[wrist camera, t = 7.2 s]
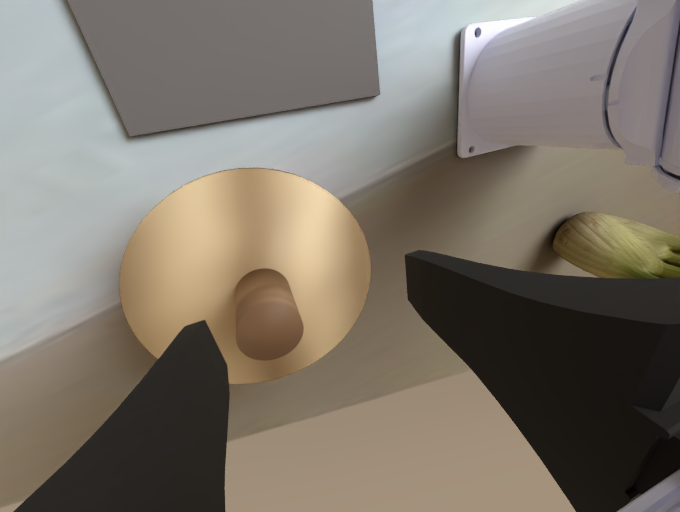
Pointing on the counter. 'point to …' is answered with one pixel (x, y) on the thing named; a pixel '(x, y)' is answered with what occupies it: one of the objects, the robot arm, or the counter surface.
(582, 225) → the fennel bulb
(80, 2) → the mat
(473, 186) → the counter surface
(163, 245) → the lid
